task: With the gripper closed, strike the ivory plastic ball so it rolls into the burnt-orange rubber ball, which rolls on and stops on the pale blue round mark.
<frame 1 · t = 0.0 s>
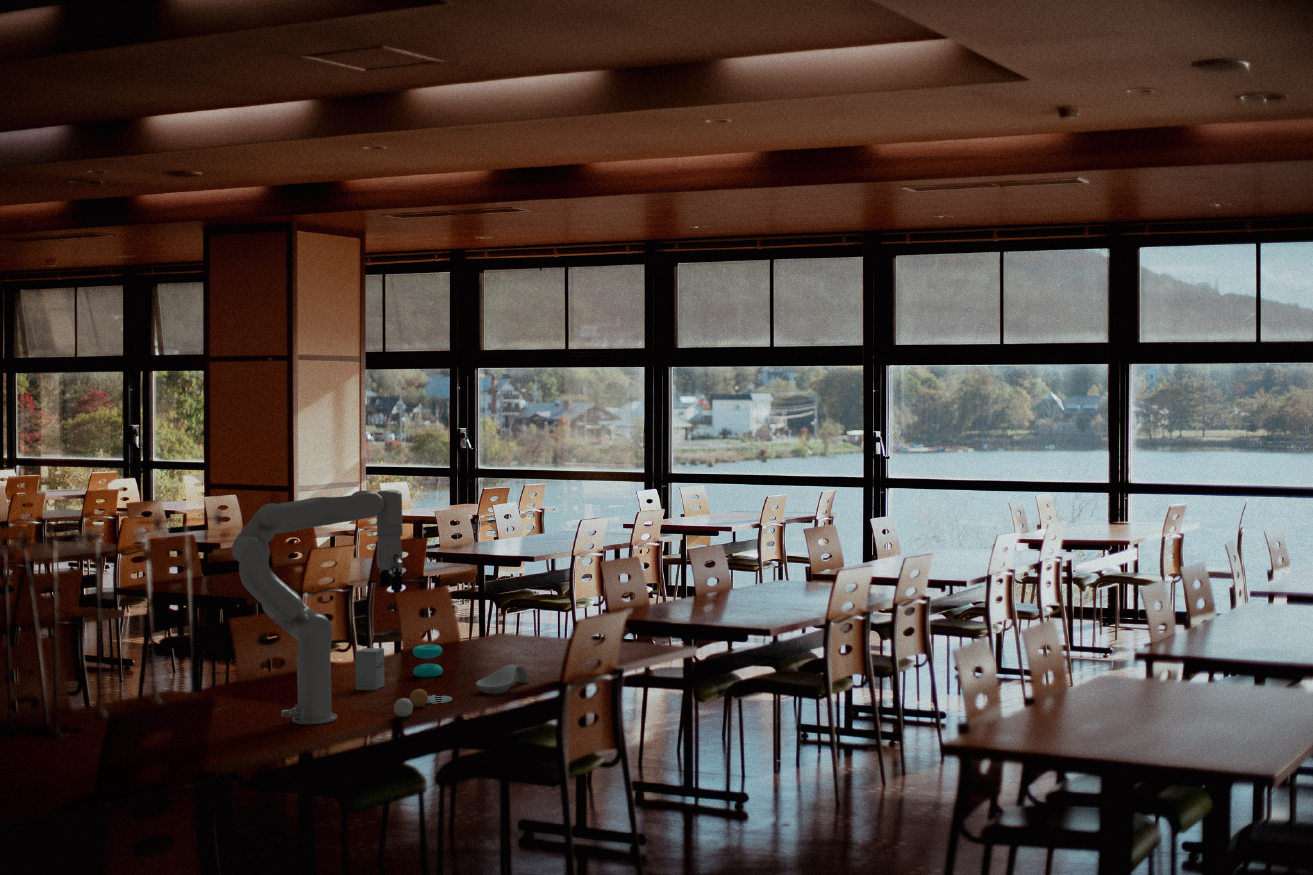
hand: (390, 588, 403), 37 cm above the table, tool pointing down, fingers open, 9 cm apart
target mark: (429, 700, 417), on the table
donuts: (428, 675, 460), on the table
orange ball: (419, 697, 407), on the table
spoon rest: (504, 690, 433), on the table
cue ball: (403, 707, 393), on the table
supplement box: (370, 688, 439), on the table
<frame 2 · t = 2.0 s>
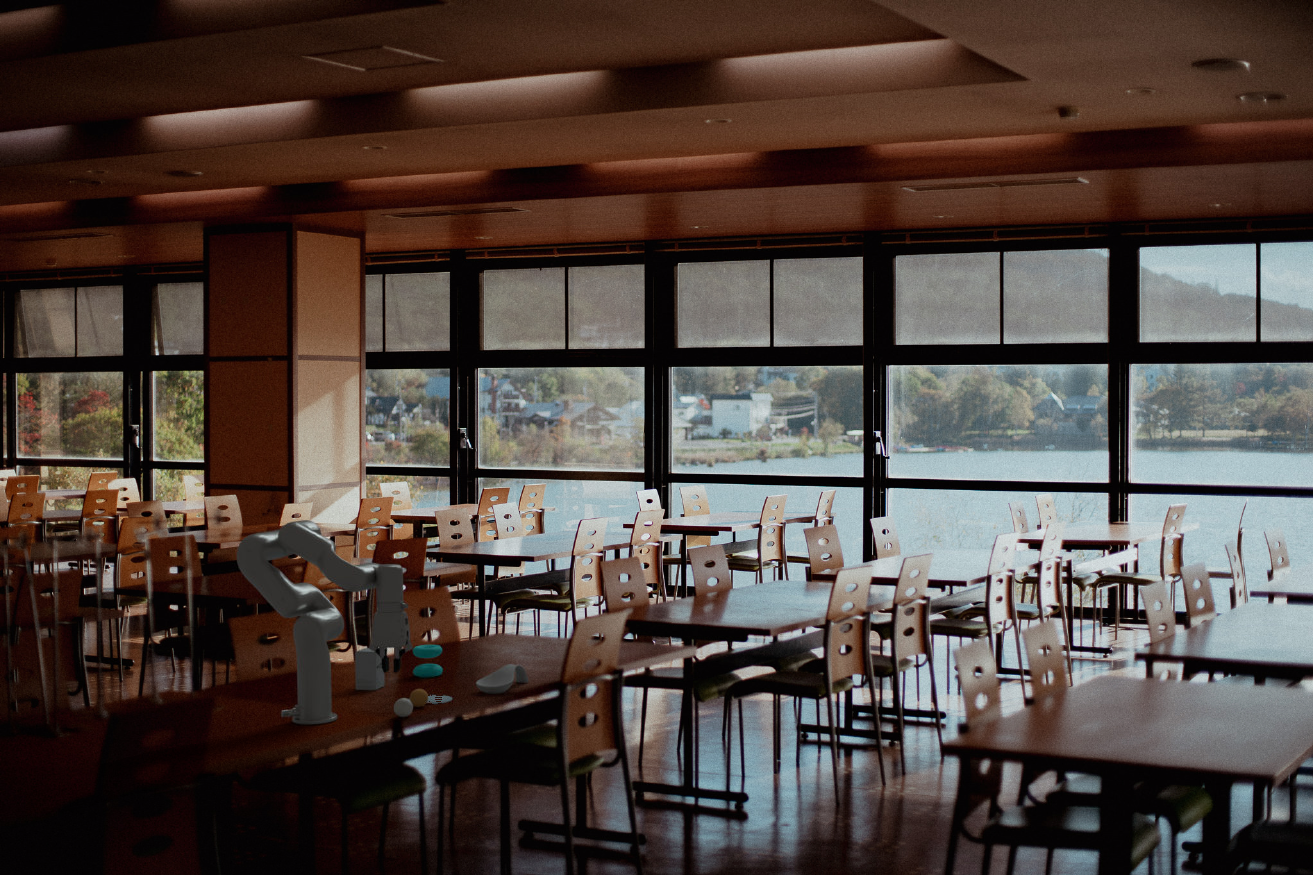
hand: (391, 671, 384), 15 cm above the table, tool pointing down, fingers closed
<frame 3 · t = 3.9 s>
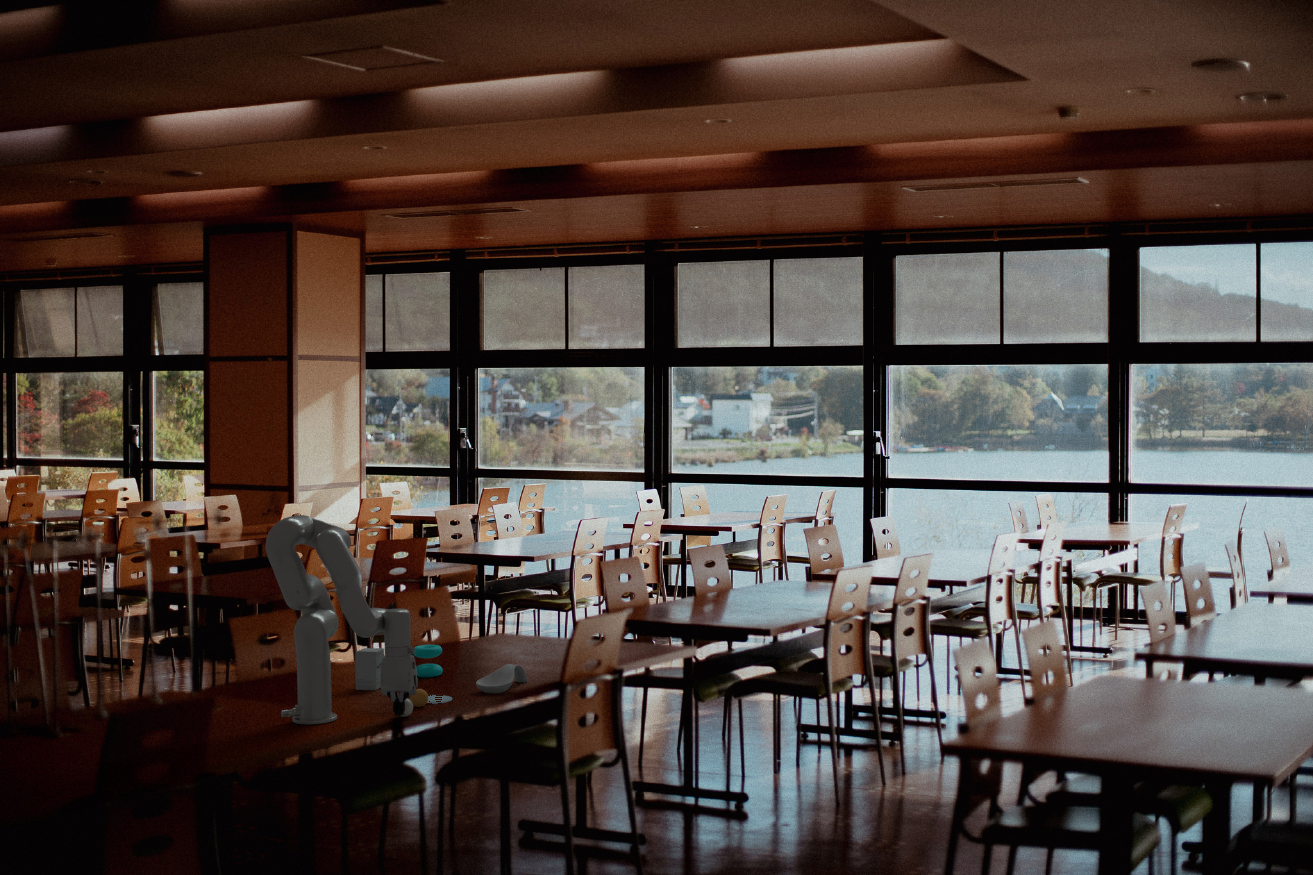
hand: (399, 714, 389), 2 cm above the table, tool pointing down, fingers closed
cue ball: (403, 707, 393), on the table, touching gripper
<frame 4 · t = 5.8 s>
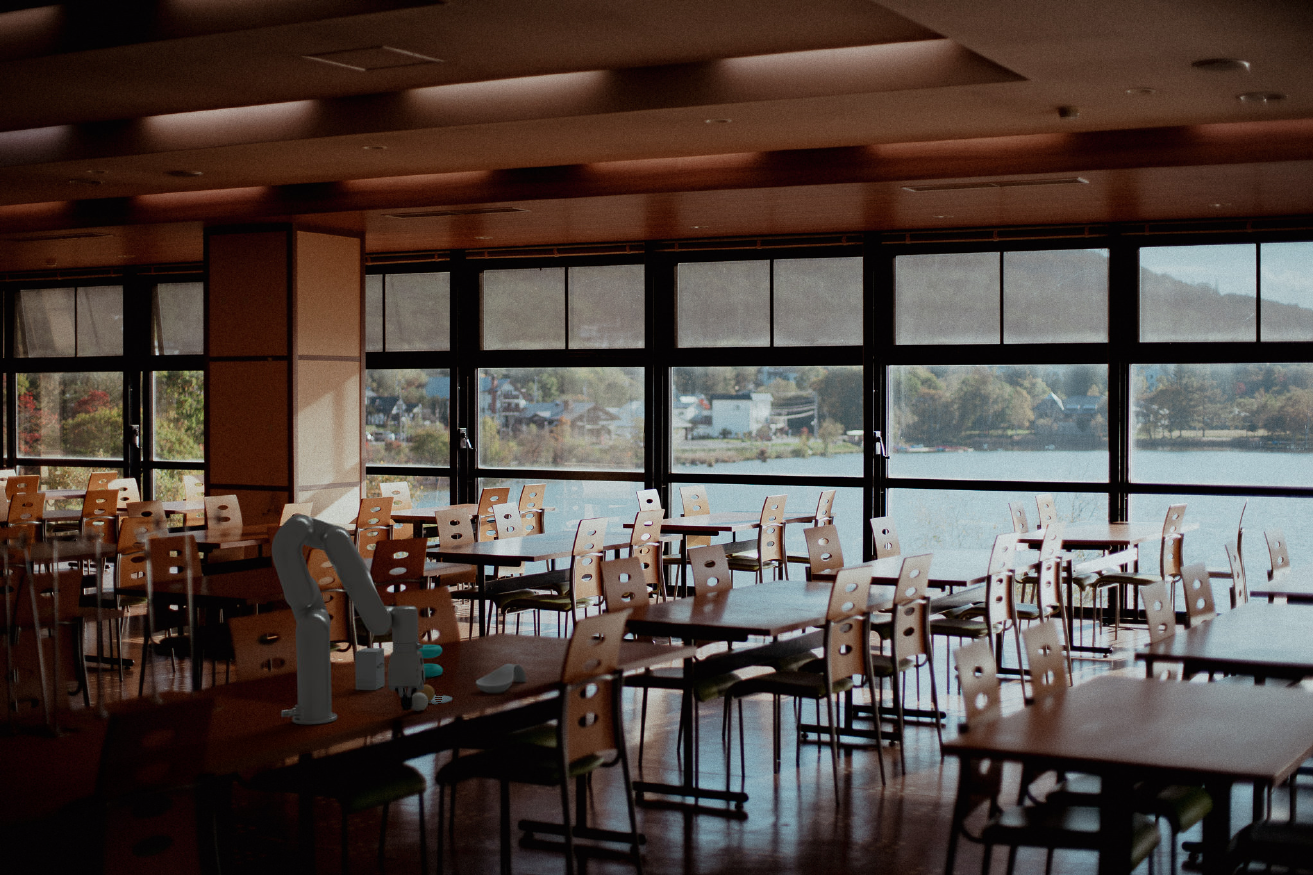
hand: (406, 709, 396), 2 cm above the table, tool pointing down, fingers closed
orange ball: (425, 693, 414), on the table
cue ball: (418, 701, 401), on the table
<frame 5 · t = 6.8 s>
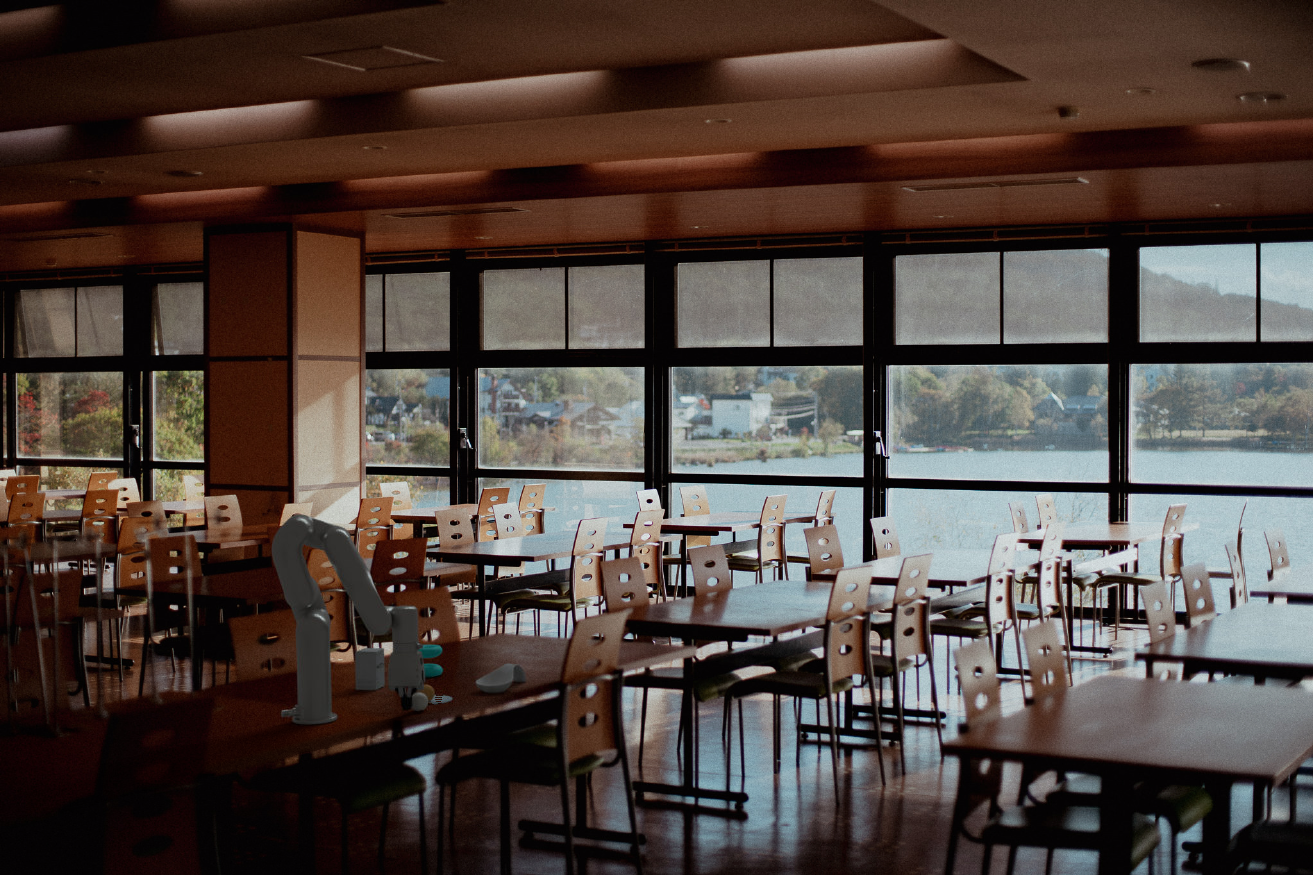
hand: (406, 709, 396), 2 cm above the table, tool pointing down, fingers closed
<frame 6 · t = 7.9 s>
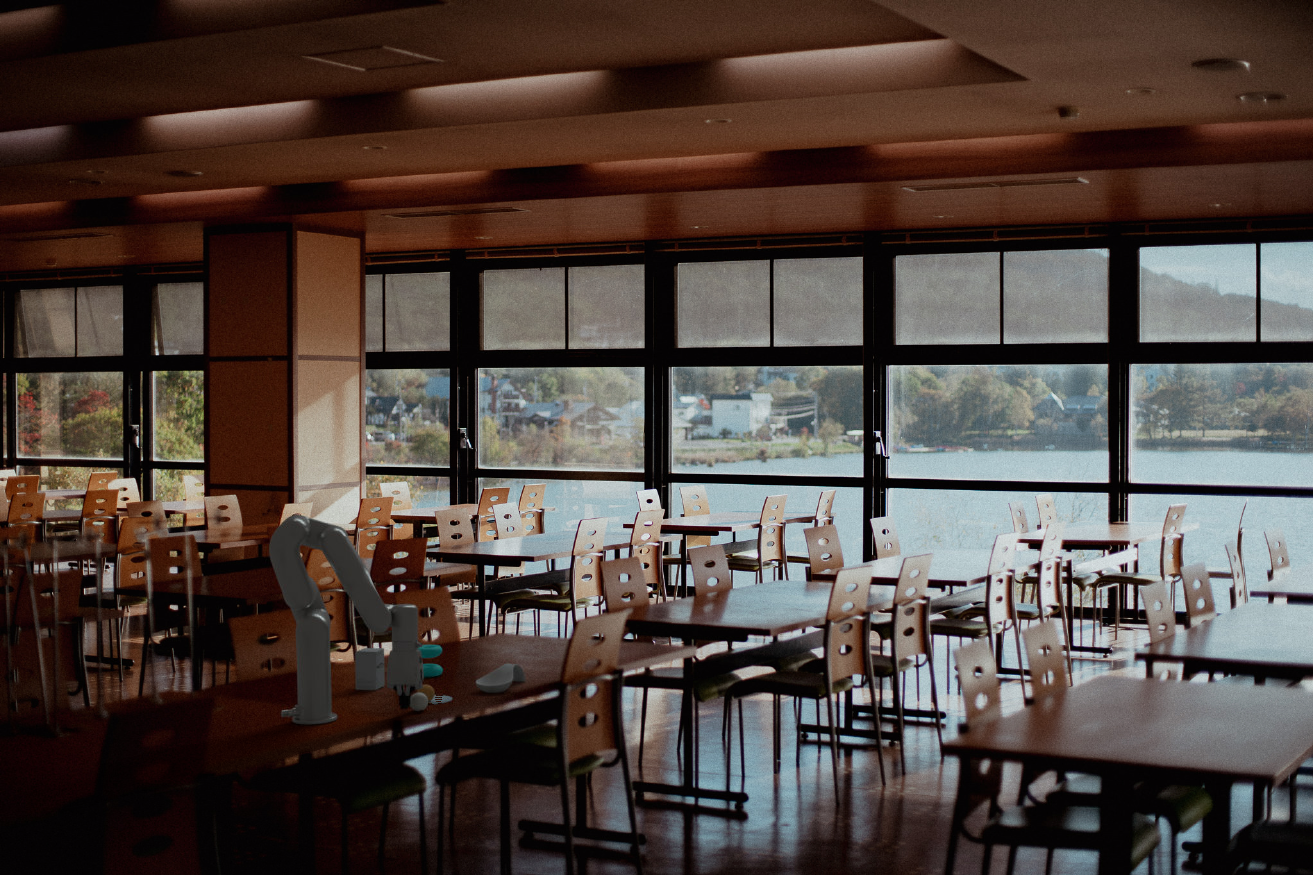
hand: (404, 708, 396), 2 cm above the table, tool pointing down, fingers closed
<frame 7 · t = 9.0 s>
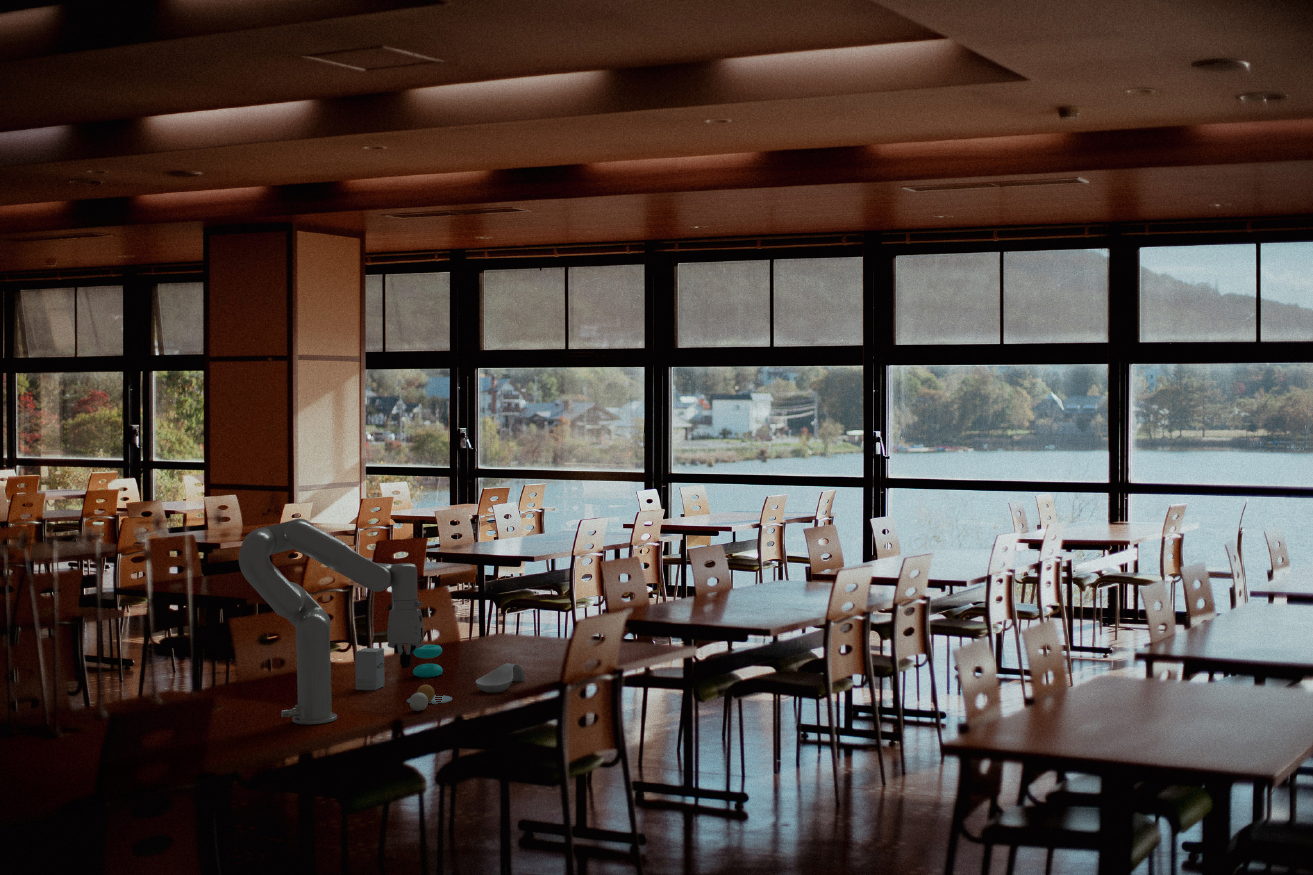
hand: (406, 667, 396), 14 cm above the table, tool pointing down, fingers closed
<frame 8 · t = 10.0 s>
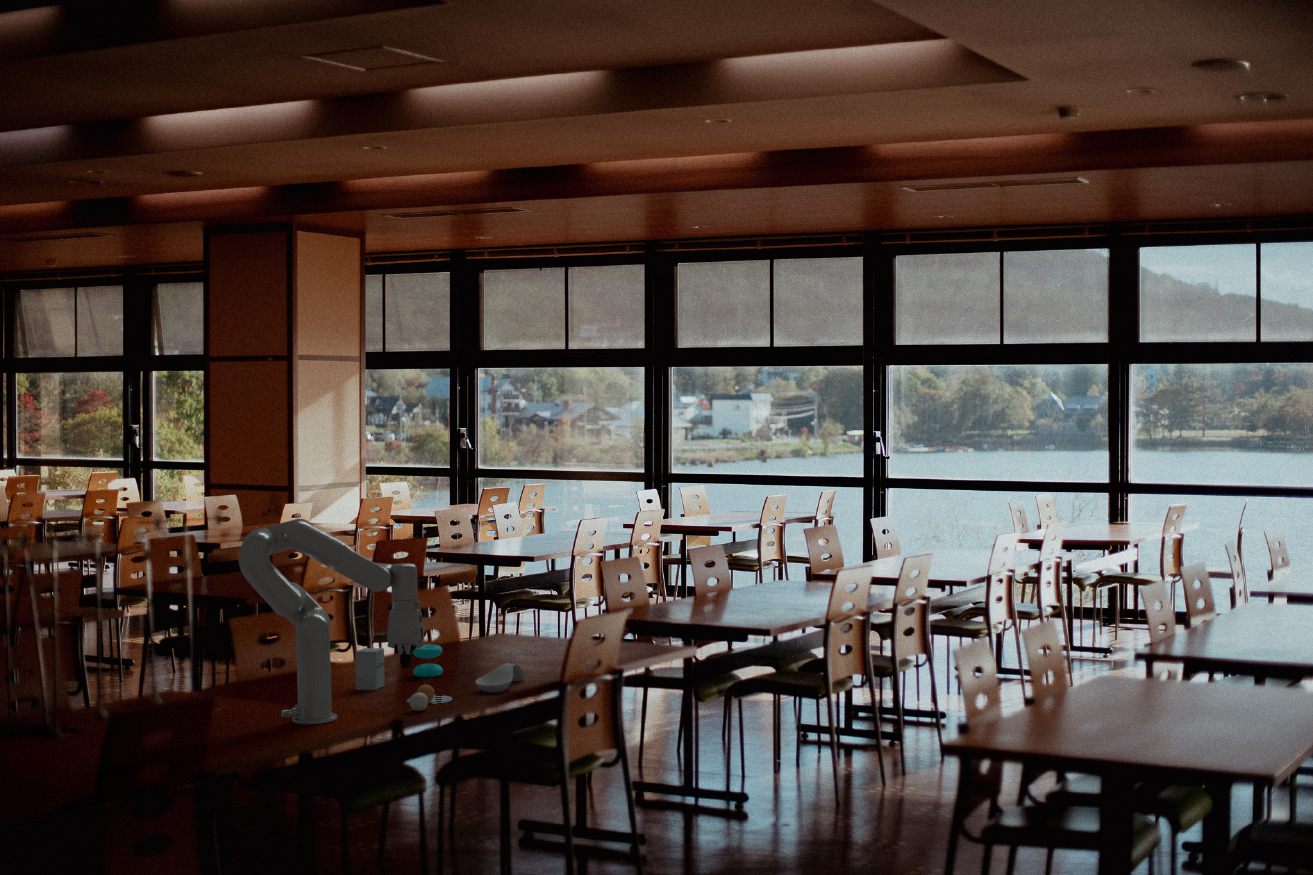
hand: (406, 667, 396), 14 cm above the table, tool pointing down, fingers closed
at the end: orange ball 3.3 cm from the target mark (horizontally); orange ball never touched the robot; cue ball first touched orange ball at 4.3 s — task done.
